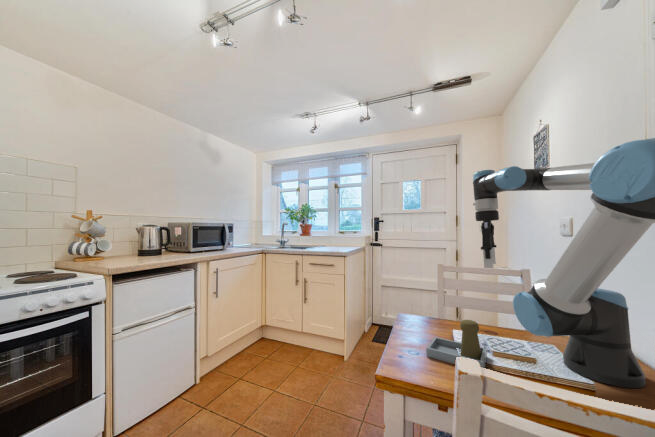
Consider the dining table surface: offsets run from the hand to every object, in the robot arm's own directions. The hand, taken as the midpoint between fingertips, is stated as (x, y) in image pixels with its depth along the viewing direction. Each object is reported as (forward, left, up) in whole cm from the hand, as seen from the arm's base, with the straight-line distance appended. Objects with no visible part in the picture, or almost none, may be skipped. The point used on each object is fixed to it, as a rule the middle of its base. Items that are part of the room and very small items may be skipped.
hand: (490, 265), depth 93 cm
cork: (+5, +22, -26) cm, 35 cm away
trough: (+9, +24, -27) cm, 37 cm away
